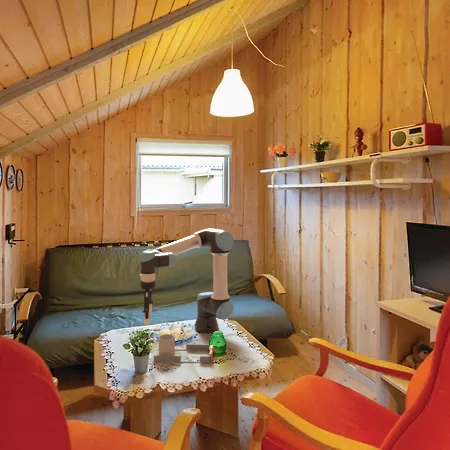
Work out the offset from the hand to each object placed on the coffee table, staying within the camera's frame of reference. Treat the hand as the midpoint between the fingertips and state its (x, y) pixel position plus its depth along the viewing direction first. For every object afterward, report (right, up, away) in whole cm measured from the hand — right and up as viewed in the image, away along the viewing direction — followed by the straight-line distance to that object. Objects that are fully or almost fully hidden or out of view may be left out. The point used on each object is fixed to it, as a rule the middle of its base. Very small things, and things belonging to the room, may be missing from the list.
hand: (148, 320), depth 213 cm
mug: (+9, -20, +4) cm, 22 cm away
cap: (+33, -15, +2) cm, 37 cm away
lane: (+19, -20, +3) cm, 28 cm away
